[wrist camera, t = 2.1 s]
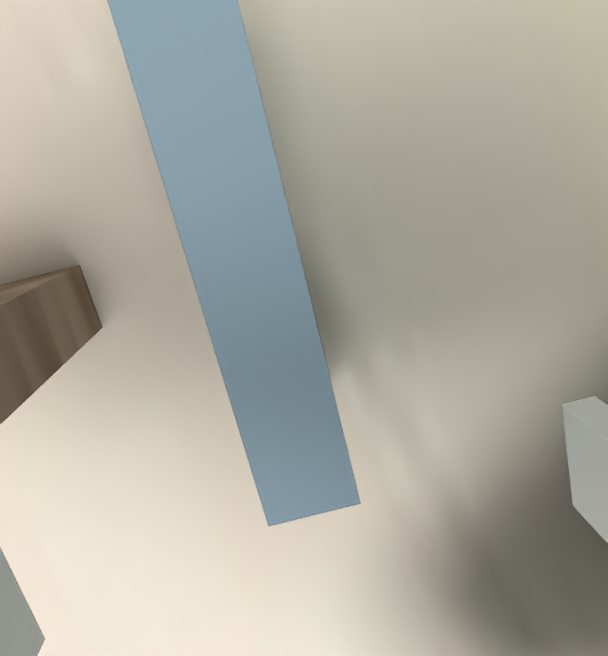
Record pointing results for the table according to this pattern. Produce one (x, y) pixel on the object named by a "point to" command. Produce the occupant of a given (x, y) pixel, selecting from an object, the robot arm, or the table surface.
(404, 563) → the table surface
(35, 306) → the slotted beam
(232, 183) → the long blue bar
